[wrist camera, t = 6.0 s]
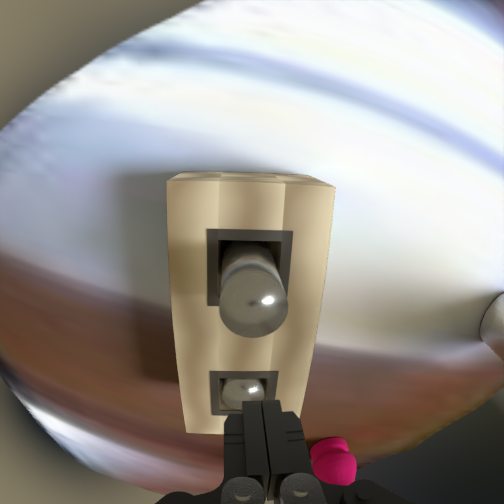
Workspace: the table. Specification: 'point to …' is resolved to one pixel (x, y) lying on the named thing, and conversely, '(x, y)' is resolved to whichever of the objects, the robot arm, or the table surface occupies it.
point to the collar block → (209, 283)
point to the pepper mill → (333, 461)
